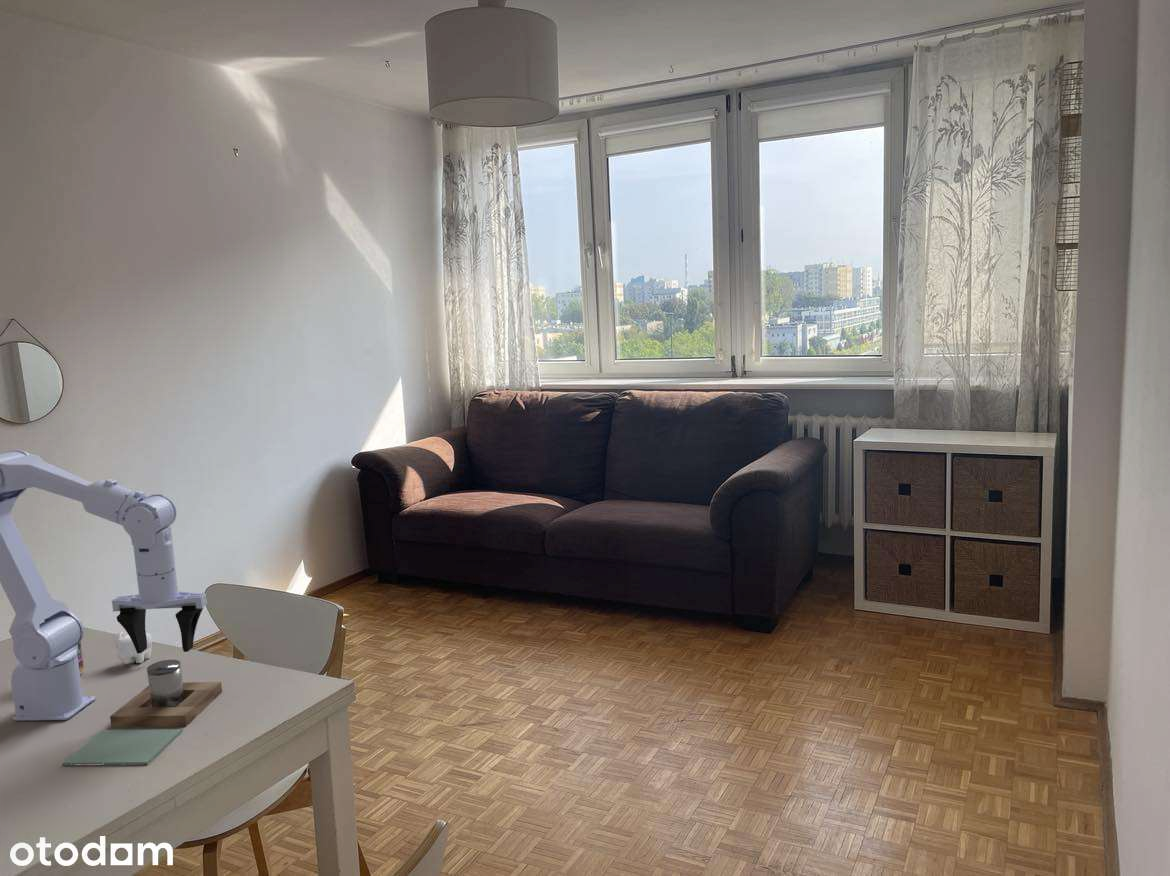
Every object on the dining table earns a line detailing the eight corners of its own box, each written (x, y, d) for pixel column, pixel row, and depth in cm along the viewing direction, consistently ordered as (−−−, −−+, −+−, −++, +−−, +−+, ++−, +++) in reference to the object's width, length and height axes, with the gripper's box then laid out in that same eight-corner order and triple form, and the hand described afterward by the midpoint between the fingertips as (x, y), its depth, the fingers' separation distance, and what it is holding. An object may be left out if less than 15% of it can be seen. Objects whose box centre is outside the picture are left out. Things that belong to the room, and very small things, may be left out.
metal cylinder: (146, 716, 145) (140, 672, 144) (162, 702, 150) (157, 659, 149) (175, 715, 145) (170, 671, 144) (190, 701, 150) (185, 659, 149)
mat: (62, 765, 130) (62, 762, 130) (102, 732, 140) (102, 730, 140) (147, 764, 129) (147, 762, 129) (182, 731, 139) (182, 729, 139)
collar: (111, 726, 142) (109, 716, 141) (153, 692, 154) (151, 683, 154) (186, 726, 141) (185, 715, 141) (222, 691, 153) (221, 681, 153)
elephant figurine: (106, 669, 165) (102, 639, 164) (135, 653, 173) (131, 623, 172) (139, 671, 164) (135, 640, 163) (166, 653, 172) (163, 624, 171)
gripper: (98, 580, 140) (108, 661, 142) (190, 576, 140) (198, 658, 142) (121, 566, 147) (130, 644, 149) (208, 563, 147) (216, 641, 149)
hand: (165, 650), depth 146 cm, fingers open, 7 cm apart
